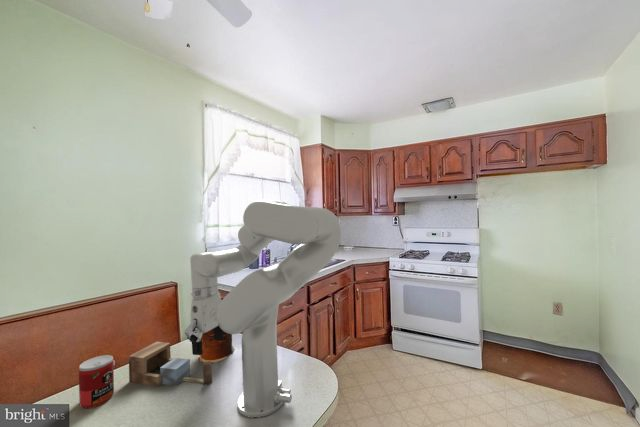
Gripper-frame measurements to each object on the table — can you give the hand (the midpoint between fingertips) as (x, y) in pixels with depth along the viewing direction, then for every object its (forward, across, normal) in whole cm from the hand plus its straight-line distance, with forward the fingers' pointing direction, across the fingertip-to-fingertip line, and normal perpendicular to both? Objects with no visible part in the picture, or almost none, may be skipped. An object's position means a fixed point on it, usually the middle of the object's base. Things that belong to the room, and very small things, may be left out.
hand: (208, 346), depth 82 cm
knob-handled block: (+11, 0, +8) cm, 14 cm away
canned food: (+10, -14, +28) cm, 33 cm away
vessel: (+11, +17, +12) cm, 23 cm away
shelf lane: (+10, 0, +22) cm, 24 cm away
